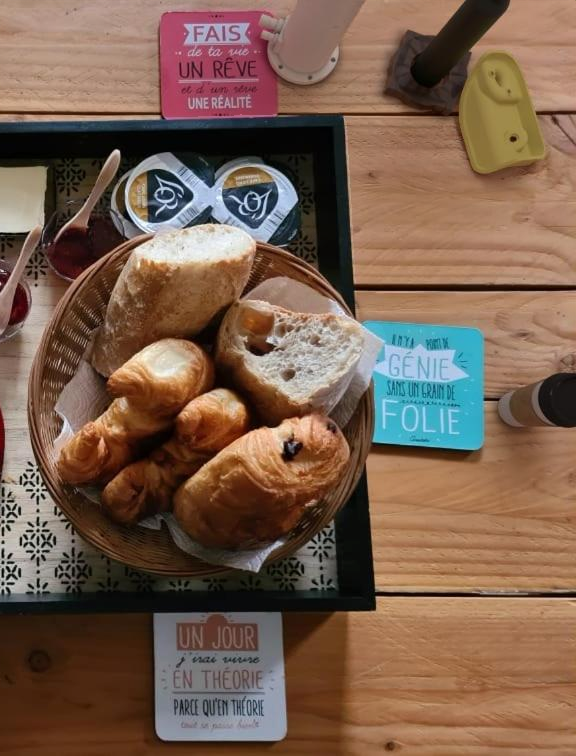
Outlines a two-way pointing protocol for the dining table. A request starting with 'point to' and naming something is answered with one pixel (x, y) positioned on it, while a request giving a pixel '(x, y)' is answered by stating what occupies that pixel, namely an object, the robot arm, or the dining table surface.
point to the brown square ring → (410, 90)
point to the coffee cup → (542, 403)
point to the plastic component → (499, 115)
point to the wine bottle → (456, 40)
